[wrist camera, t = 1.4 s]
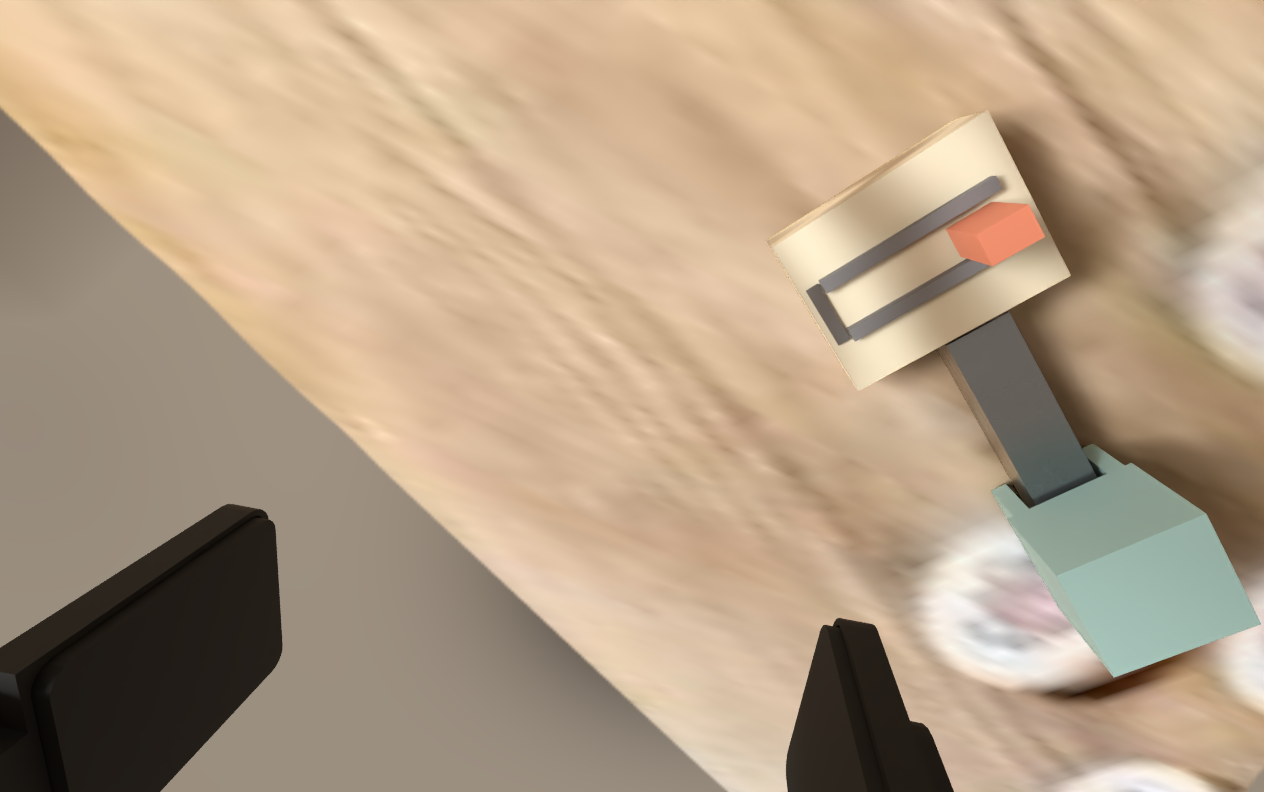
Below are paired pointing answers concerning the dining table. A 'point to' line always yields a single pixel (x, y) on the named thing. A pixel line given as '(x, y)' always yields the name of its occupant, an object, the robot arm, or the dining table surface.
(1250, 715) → the dining table surface
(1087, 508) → the carriage
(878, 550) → the dining table surface
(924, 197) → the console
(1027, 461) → the rail
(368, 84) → the dining table surface
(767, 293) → the dining table surface
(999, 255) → the orange clay brick
